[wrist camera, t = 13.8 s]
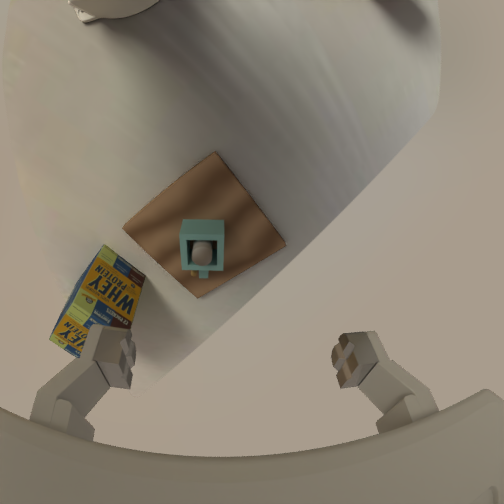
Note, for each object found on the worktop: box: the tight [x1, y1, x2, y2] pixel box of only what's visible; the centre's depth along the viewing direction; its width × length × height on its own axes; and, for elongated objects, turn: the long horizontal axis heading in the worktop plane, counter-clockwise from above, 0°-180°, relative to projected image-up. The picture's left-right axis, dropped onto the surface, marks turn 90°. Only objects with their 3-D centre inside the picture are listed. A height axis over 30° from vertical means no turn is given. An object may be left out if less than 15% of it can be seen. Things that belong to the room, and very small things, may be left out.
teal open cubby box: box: [179, 219, 224, 278], centre depth 44 cm, size 10×7×5 cm, turn 175°
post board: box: [122, 151, 286, 298], centre depth 43 cm, size 20×20×7 cm
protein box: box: [49, 245, 145, 358], centre depth 43 cm, size 10×15×16 cm
